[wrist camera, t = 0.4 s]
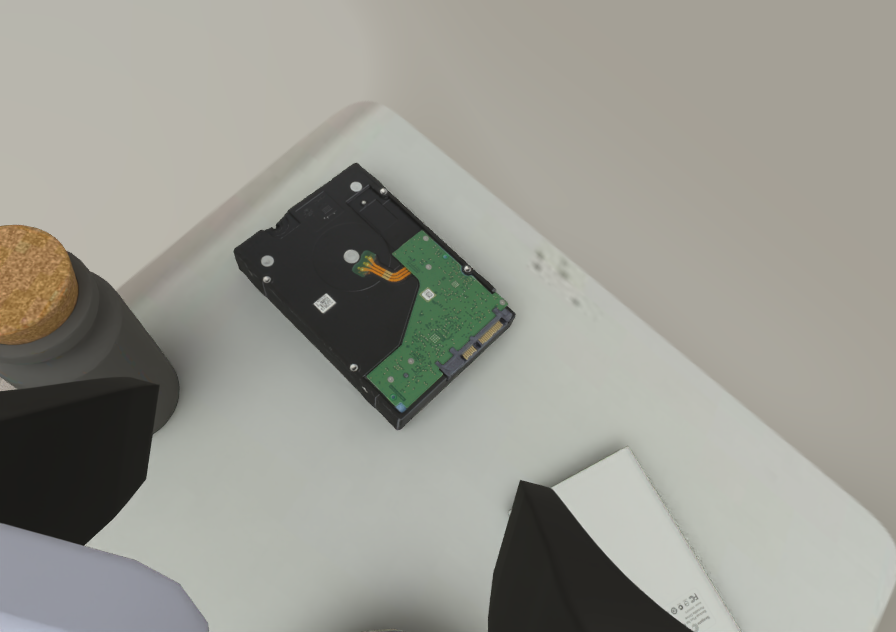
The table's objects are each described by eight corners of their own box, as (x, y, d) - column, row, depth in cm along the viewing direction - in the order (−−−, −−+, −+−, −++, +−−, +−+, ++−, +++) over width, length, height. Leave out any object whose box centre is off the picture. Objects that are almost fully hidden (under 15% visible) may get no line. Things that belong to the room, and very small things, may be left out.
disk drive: (236, 273, 43) (400, 435, 40) (227, 251, 40) (401, 423, 37) (355, 183, 47) (513, 324, 44) (354, 158, 44) (522, 306, 41)
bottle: (202, 389, 39) (119, 270, 26) (123, 467, 37) (-13, 381, 24) (131, 329, 40) (15, 185, 27) (50, 402, 38) (-122, 284, 25)
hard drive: (620, 450, 41) (742, 651, 37) (505, 513, 39) (622, 734, 35) (629, 444, 40) (758, 652, 36) (511, 508, 37) (634, 739, 33)
